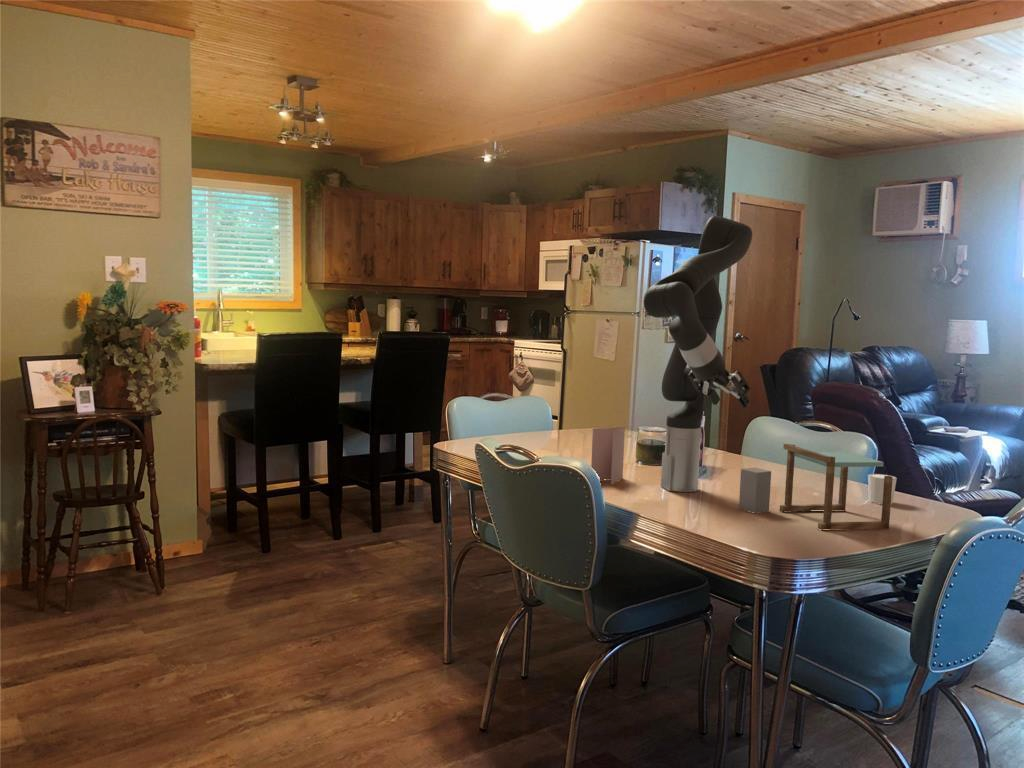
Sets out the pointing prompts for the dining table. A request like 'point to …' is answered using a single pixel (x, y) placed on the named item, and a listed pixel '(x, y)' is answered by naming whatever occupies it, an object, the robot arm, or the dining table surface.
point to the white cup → (878, 487)
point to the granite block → (755, 490)
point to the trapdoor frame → (829, 493)
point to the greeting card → (608, 453)
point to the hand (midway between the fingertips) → (731, 404)
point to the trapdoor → (845, 460)
